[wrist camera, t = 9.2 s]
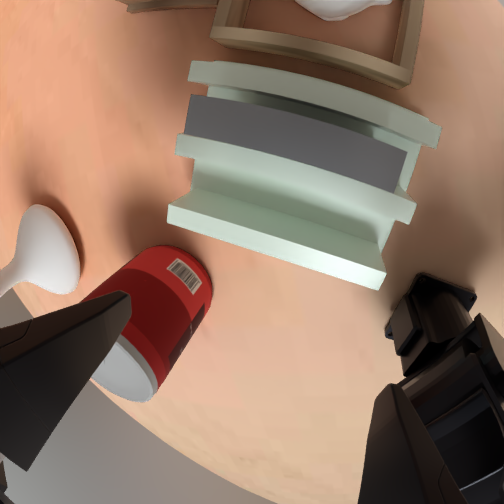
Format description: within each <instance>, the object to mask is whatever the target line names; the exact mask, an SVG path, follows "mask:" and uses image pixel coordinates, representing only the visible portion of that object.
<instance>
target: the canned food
mask: <svg viewBox="0 0 504 504" xmlns="http://www.w3.org/2000/svg"><path fill="white" fill-rule="evenodd" d="M118 290H122V291H124V292H126V293H128V294H129V295H130V296H131V310H132V313H131V317H130V319H129V321H128V322H127V324H126V326H125V327H124V329H123V330H122V332H121V334H120V335H119V337H118V339H117V341H116V342H115V344H114V346H113V347H112V349H111V350H110V352H109V353H108V355H107V356H106V357H105V359H104V360H103V361H102V363H101V364H100V365H99V367H98V368H97V369H96V371H95V372H94V373H93V375H92V376H91V378H92V379H93V380H95V381H96V382H97V383H98V384H100V385H101V386H102V387H104V388H105V389H107V390H108V391H110V392H112V393H113V394H115V395H118V396H120V397H122V398H125V399H127V400H130V401H134V402H146V401H149V400H150V399H151V398H152V397H153V395H154V394H155V393H156V392H157V391H158V389H159V387H160V386H161V384H162V383H163V382H164V380H165V379H166V377H167V375H168V374H169V372H170V371H171V369H172V367H173V366H174V364H175V363H176V361H177V359H178V358H179V356H180V355H181V353H182V351H183V350H184V348H185V347H186V345H187V343H188V342H189V340H190V339H191V337H192V335H193V334H194V332H195V331H196V329H197V327H198V326H199V324H200V323H201V321H202V320H203V318H204V316H205V315H206V313H207V312H208V310H209V308H210V305H211V300H212V285H211V281H210V279H209V276H208V274H207V272H206V271H205V269H204V268H203V266H202V265H201V264H200V263H199V262H198V261H197V260H196V259H195V258H194V257H193V256H191V255H190V254H189V253H187V252H185V251H184V250H182V249H179V248H177V247H174V246H169V245H159V246H155V247H151V248H147V249H145V250H144V251H142V252H141V253H139V254H138V255H137V256H136V257H134V258H133V259H132V260H130V261H129V262H128V263H127V264H125V265H124V266H123V267H122V268H120V269H119V270H118V271H117V272H115V273H114V274H113V275H112V276H111V277H109V278H108V279H107V280H106V281H104V282H103V283H102V284H101V285H100V286H98V287H97V288H96V289H95V290H94V291H92V292H91V293H90V294H89V295H88V296H87V297H85V298H84V299H83V300H82V301H81V302H84V301H87V300H90V299H93V298H96V297H99V296H102V295H106V294H109V293H112V292H115V291H118ZM81 302H80V303H81Z"/></svg>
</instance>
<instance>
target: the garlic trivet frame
mask: <svg viewBox="0 0 504 504" xmlns="http://www.w3.org/2000/svg"><path fill="white" fill-rule="evenodd" d="M249 3H250V0H219V3H218V7H217V10H216V14H215V17H214V21H213V25H212V28H211V32H210V36H209V38H211V39H213V40H214V41H216V42H218V43H219V44H221V45H223V46H224V47H226V48H234V49H243V50H251V51H258V52H264V53H271V54H276V55H282V56H287V57H292V58H297V59H301V60H306V61H310V62H314V63H318V64H322V65H326V66H330V67H333V68H337V69H341V70H344V71H347V72H350V73H354V74H357V75H360V76H363V77H366V78H369V79H372V80H374V81H377V82H380V83H383V84H385V85H388V86H390V87H393V88H396V89H400V88H403V87H405V86H407V85H409V84H410V83H411V78H412V73H413V69H414V64H415V59H416V53H417V48H418V42H419V36H420V30H421V23H422V16H423V8H424V0H403V4H402V10H401V17H400V23H399V28H398V34H397V39H396V44H395V50H394V54H393V59H392V63H390V62H388V61H385V60H382V59H379V58H377V57H374V56H371V55H368V54H365V53H362V52H359V51H355V50H352V49H349V48H345V47H342V46H338V45H335V44H331V43H327V42H323V41H318V40H314V39H310V38H305V37H300V36H295V35H289V34H284V33H277V32H271V31H264V30H255V29H246V28H243V25H244V21H245V18H246V14H247V10H248V7H249Z"/></svg>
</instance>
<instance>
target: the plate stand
mask: <svg viewBox="0 0 504 504" xmlns="http://www.w3.org/2000/svg"><path fill="white" fill-rule="evenodd" d="M116 1H119V2H122V3H125V4H128V8H127V12H130V13H138V12H146V11H154V10H165V9H179V8H217V7H218V3H219V0H116Z"/></svg>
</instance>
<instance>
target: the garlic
mask: <svg viewBox="0 0 504 504" xmlns="http://www.w3.org/2000/svg"><path fill="white" fill-rule="evenodd" d="M294 1H296V2H297V3H298V4H299V5H301V6H302V7H304V8H305V9H307V10H308V11H310V12H312V13H313V14H315V15H316V16H318V17H320V18H321V19H323V20H326V21H341V20H344V19H346V18H347V17H349V16H350V15H354V14H356V13H359V12H361V11H363V10H364V9H366V8H367V7H369V6H373V5H388V4H390V3H391V2H392V0H294Z"/></svg>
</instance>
